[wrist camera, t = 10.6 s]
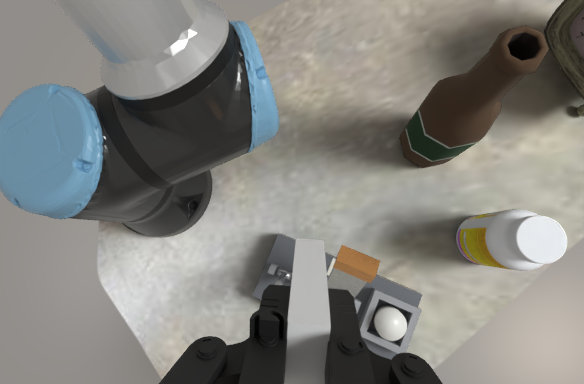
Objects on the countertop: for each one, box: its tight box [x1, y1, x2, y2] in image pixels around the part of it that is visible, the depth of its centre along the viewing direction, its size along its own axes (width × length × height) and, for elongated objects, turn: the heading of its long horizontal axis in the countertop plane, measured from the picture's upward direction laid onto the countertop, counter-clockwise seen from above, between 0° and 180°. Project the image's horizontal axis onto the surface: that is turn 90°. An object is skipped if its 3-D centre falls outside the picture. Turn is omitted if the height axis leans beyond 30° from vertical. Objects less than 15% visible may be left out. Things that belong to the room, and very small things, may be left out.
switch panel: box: [252, 233, 422, 360], centre depth 43 cm, size 9×20×5 cm, turn 67°
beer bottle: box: [400, 25, 549, 168], centre depth 35 cm, size 8×8×24 cm
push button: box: [373, 305, 407, 341], centre depth 39 cm, size 4×4×2 cm
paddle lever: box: [327, 245, 380, 298], centre depth 37 cm, size 2×4×12 cm, turn 68°
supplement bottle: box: [456, 209, 567, 271], centre depth 38 cm, size 7×7×13 cm
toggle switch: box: [261, 267, 292, 300], centre depth 39 cm, size 2×2×8 cm
